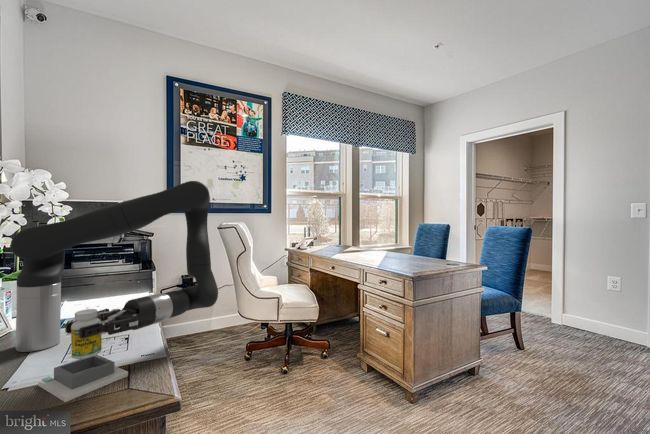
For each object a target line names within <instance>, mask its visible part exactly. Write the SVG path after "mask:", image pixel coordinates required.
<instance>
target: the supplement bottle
mask: <svg viewBox="0 0 650 434" xmlns="http://www.w3.org/2000/svg"><path fill="white" fill-rule="evenodd" d="M97 311H98V309H96V308H88V309H82V310H77V311H76V312H74V321H76V322H74V323H73V324H72V326H71V333H70V336H71V337H70V340H71V358H72V359H74V360H79V359H85V358H89V357H92V356H95V355H99V354H101V351H102V334H101V333H100V334H97V335H93V336H90V337H87V338H83V339H81V338H79V329H80V328H82V327H86V326H89V325H93V324H97V323H100V325H101V322H102V321H101V320H100V319H98V318H96V317H97Z"/></svg>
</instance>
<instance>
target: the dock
mask: <svg viewBox="0 0 650 434" xmlns="http://www.w3.org/2000/svg"><path fill="white" fill-rule="evenodd" d="M128 376H129V371H127V370H125V369H123V368H120V367H118V366H116V365H115V361H113V360H110V359H109V358H106V357H104V356H101V355H99V354H97V355H95V356H92V357H89V358H85V359H75V360H74V361H71V362H68V363H64V364H62V365H58V366H56V367H54V368H53V375H52V376H49V375H48V376H45V377H43V378H42V379H40V380H38V382H37V384H38V387H40V388H41V389H42V390H45V391H46V392H48V393H50V394H51V395H52V396H54V397H56V398H57V399H59V400H61V401H62V402H64V403H66V402H69V401H72V400H74V399H76V398H78V397H81V396H83V395H86V394H88V393H91V392H93V391H95V390H98V389H101V388H102V387H104V386H107V385H110V384H112V383H115V382H117V381H119V380H122V379H124V378H126V377H128Z"/></svg>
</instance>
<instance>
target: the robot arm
mask: <svg viewBox="0 0 650 434" xmlns="http://www.w3.org/2000/svg"><path fill="white" fill-rule="evenodd" d="M210 202H211V196H210V191H209V188H208V186H207V185H206V184H205V183H203V182H201V181H199V180H189V181H186V182H182V183H181V184H177V185H175V186H172V187H170V188H166V189H163V190H162V191H158V192H156V193H152V194H148V195H143V196H140V197H136V198H132V199H128V200H125V201H120V202H117V203H114V204H110V205H106V206H104V207H100V208H98V209H94V210H91V211H88V212H86V213H84V214H81V215H78V216H76V217H73V218H70V219H69V218H68V219H67V220H66V219H65V220H62V221H58V222H53V223H48V224H43V225H37V226H30V227H27V228H24V229H22V230H20V231H18V232H17V233H16V234H15V235H13V238H12V239H11V241H10V250H11V252H12V254H13V255H14V256H16V257H17V258H19V259H22V260H23V265H22V268H21V271H20V272H19V273H18V274H17V277H16V303H15V304H16V307H15V309H16V310H15V351H16V352H18V353H19V352H20V353H27V352H29V353H30V352H37V351H41V350H46V349H48V348H52V347H55V346H56V345H58V344H60V342H61V310H62V309H61V306H62V304H61V303H62V300H61V299H62V275H63V272H64V269H65V255H66V249H70V248H72V247H75V246H77V245H81V244H85V243H91V242H96V241H101V240H107V239H110V238H114V237H118V236H121V235H122V236H123V235H125V234H128V233H131V232H135V231H137V230H140V229H143V228H145V227H146V226H148V225H150V224H151V223H154V222H156V221H157V220H158V219H159V220H160V218H162V217H165V216H167V215H169V214H172V213H177V212H181V211H183V212H184V216H185V220H186V221H185V222H186V248H185V251H186V252H185V255H186V256H185V257H186V259H185V261H186V272H187V276H188V277H189V278H194V279H195V281H196V285H191V286H187V287H183V288H181V289H179V290H172V291H167V292H162V293H155V294H150V295H147V296H141V297H137V298H134V299H133V298H132V299H130V300H127V301H126V302H125V304H124V306H123V308H122V309H120V308H114V309H111V310H110V309H109V308H104V309H100V310H97V317H96V318H98V319H100V320H101V325H100V323H97V324H93V325H89V326H86V327H82V328H80V329H79V338H81V339H83V338H87V337H90V336H93V335H97V334H100V333H101V335H106V334H108V335H110V336H111V335H115V334H119V333H123V332H127V331H131V330H132V331H136V330H140V329H143V328H146V327H149V326H152V325H155V324H156V325H157V324H158V323H161V322H164V321H166V320H168V319H172V318H174V317H177V316H181V315H183V314H185V312H187V311H191V310H195V309H197V310H198V309H204V308H205V309H206V308H211V307H212V306H214V305H215V304H216V303H217V300H218V298H219V289H218V284H217V282H216V279H215V275H214V272H213V271H212V262H211V258H212V257H211V249H210V248H211V247H210V241H209V233H208V232H209V231H208V215H209V209H210V208H209V207H210ZM74 322H76V320H74V321H70V322H66V324H65V327H64V328H65V331H64V332H65V333H66V334H71V326H72V324H73V323H74Z"/></svg>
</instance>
